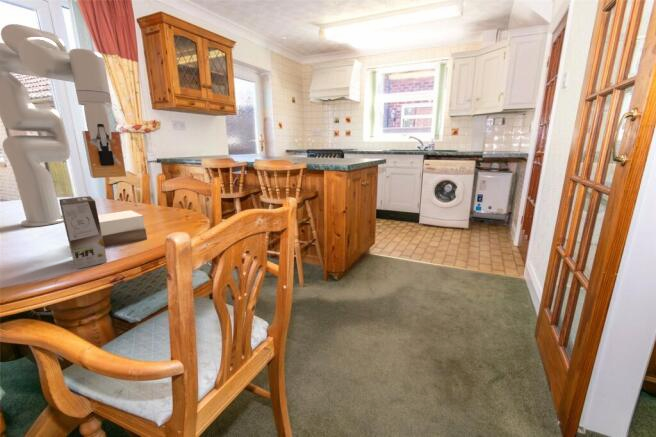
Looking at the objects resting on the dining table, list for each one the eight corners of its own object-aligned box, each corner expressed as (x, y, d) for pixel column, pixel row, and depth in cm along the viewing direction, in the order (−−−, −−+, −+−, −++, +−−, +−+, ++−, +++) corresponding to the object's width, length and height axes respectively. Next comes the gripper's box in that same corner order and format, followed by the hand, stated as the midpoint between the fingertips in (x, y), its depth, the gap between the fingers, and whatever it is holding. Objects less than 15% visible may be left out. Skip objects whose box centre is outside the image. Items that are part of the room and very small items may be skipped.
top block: (92, 228, 92) (90, 216, 91) (132, 221, 100) (131, 210, 99) (102, 235, 85) (99, 222, 84) (144, 227, 93) (142, 215, 92)
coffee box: (108, 262, 75) (96, 200, 71) (75, 269, 71) (60, 204, 67) (102, 252, 81) (90, 195, 77) (72, 259, 77) (57, 198, 73)
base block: (97, 239, 94) (94, 227, 93) (140, 232, 102) (138, 221, 101) (99, 249, 85) (97, 236, 84) (147, 241, 93) (145, 228, 92)
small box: (93, 178, 83) (83, 130, 80) (90, 176, 87) (81, 131, 84) (127, 176, 88) (119, 131, 85) (122, 174, 93) (115, 131, 89)
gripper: (77, 101, 87) (89, 163, 91) (77, 95, 74) (91, 167, 78) (108, 103, 91) (119, 162, 96) (113, 97, 78) (125, 166, 83)
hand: (106, 164), depth 87 cm, fingers closed on small box, 6 cm apart
